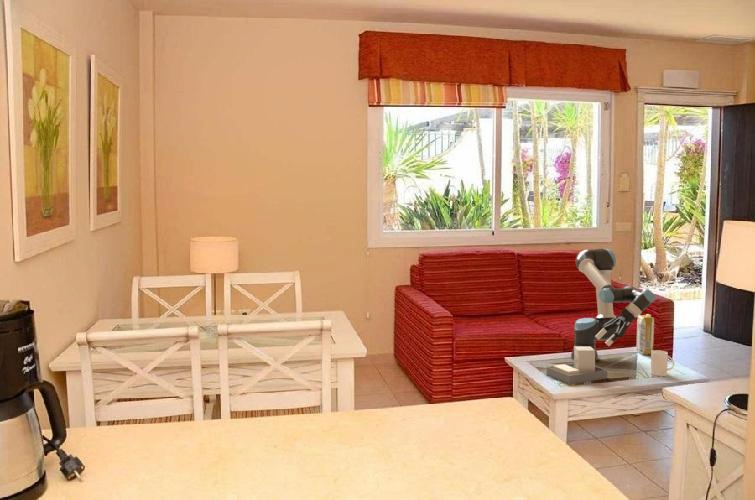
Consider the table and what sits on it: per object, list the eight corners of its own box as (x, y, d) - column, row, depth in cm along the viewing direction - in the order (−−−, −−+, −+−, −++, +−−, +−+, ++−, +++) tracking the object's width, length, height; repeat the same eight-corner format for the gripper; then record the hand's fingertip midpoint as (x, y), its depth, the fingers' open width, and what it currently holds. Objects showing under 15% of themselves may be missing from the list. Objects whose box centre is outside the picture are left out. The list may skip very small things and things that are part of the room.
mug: (676, 375, 337) (677, 353, 336) (669, 378, 331) (670, 356, 330) (654, 370, 346) (655, 349, 345) (647, 373, 340) (648, 352, 339)
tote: (546, 375, 337) (546, 366, 337) (583, 370, 347) (583, 361, 346) (568, 385, 321) (569, 375, 320) (607, 379, 330) (607, 370, 330)
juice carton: (654, 355, 377) (655, 315, 374) (641, 355, 377) (642, 315, 375) (647, 351, 386) (649, 312, 384) (634, 351, 386) (636, 312, 384)
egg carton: (553, 375, 335) (553, 365, 335) (563, 374, 338) (564, 364, 337) (568, 382, 324) (568, 371, 324) (579, 380, 327) (579, 370, 326)
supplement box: (590, 373, 340) (590, 346, 338) (595, 378, 331) (595, 350, 329) (573, 373, 340) (573, 345, 338) (577, 378, 331) (578, 350, 330)
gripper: (646, 323, 321) (616, 352, 322) (624, 313, 346) (597, 340, 347) (636, 313, 321) (606, 342, 321) (615, 303, 345) (588, 331, 346)
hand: (601, 341), depth 334 cm, fingers open, 13 cm apart
